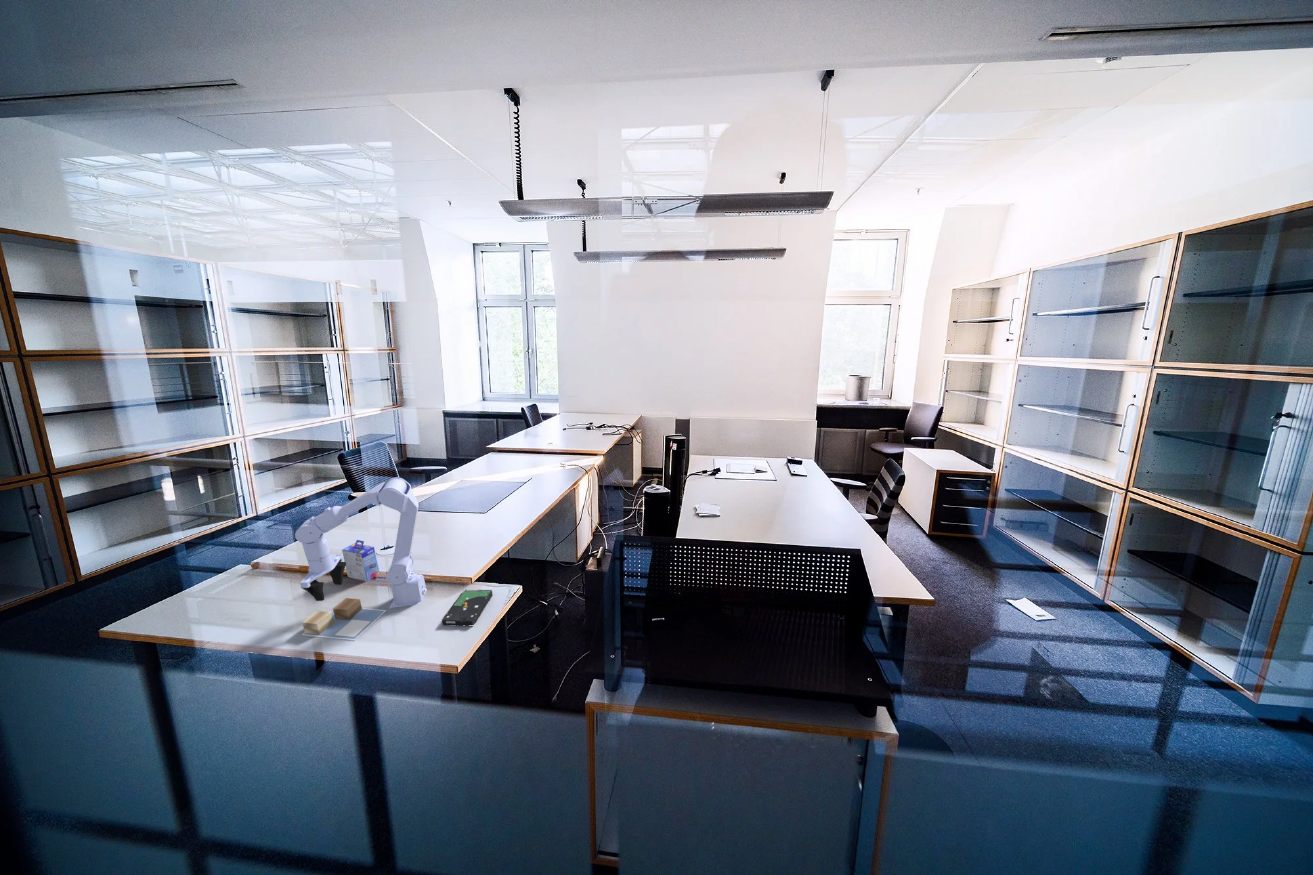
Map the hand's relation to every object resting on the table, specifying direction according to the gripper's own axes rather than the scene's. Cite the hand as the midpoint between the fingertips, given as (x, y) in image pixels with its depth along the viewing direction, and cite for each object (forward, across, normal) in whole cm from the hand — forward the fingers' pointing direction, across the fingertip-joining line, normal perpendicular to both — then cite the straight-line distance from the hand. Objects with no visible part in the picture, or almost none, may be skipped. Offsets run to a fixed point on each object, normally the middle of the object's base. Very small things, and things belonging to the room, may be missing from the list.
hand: (329, 591), depth 128 cm
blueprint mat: (+9, +4, +6) cm, 12 cm away
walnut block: (+8, 0, +5) cm, 10 cm away
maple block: (+8, +6, 0) cm, 10 cm away
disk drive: (+10, -2, +43) cm, 44 cm away
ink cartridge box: (+9, -20, -5) cm, 22 cm away
